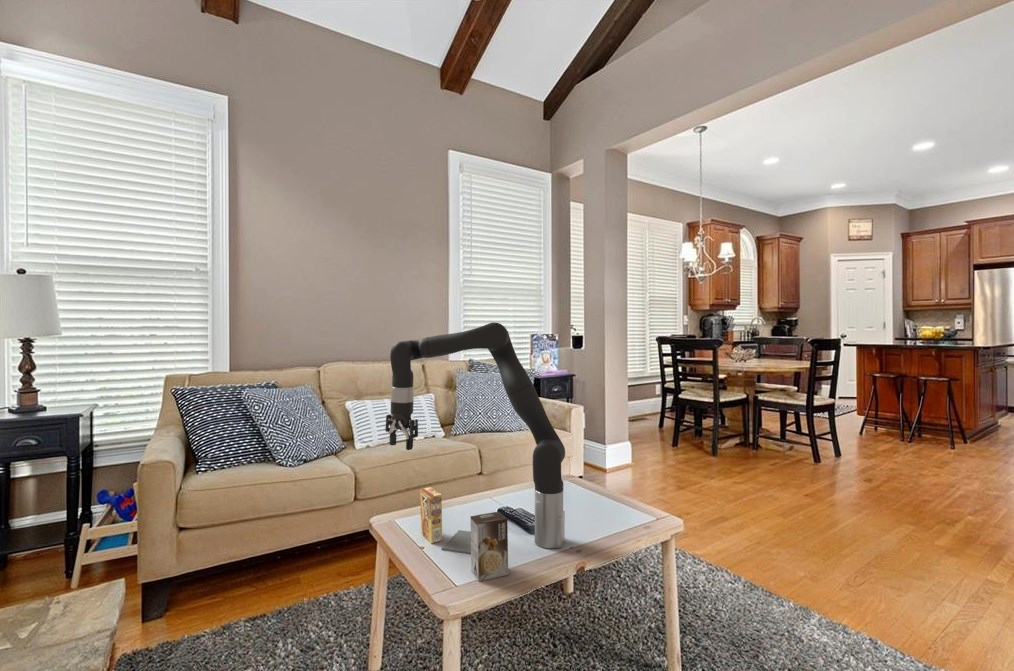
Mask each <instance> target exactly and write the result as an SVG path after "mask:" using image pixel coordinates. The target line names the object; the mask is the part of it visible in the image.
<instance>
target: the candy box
mask: <svg viewBox="0 0 1014 671" xmlns="http://www.w3.org/2000/svg"><path fill="white" fill-rule="evenodd" d="M442 496H443V495H442V494H441V493H440V492H439V491H438V490H436V489H434V488H433V487H431V486H430V487H424V488H421V489H420V496H419V498H420V534H421V535H422V537H424V538H425V539H426V540H427V541H428V542H429V543H430V544H434V542H435V543H438V542H441V541H443V512H442V510H443V502H442V500H443V498H442Z"/></svg>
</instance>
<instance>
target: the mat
mask: <svg viewBox="0 0 1014 671" xmlns="http://www.w3.org/2000/svg"><path fill="white" fill-rule="evenodd" d="M440 550H441V551H446V552H452V553H453V552H454V553H461V554H467V555H471V530H470V531H469V530H462V529H459V530H457V532H455V533H454V535H453V536H451V538H449V540H448V541H447V542H446V543H445V544H444V545H443V546H442V547H441V549H440Z"/></svg>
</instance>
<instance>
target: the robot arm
mask: <svg viewBox="0 0 1014 671" xmlns="http://www.w3.org/2000/svg"><path fill="white" fill-rule="evenodd" d="M476 349H478V350H480V349H481V350H482V349H483V350H488V352H489V353H490V354H491V357H492V358H493V360H494V362H495V364H496V365H497V368H498V372H499V374H500V378H501V382H502V384H503V387H504V391H505V393H506V396H507V398H508V400H509V402H510V404H511V406H512V408H513V410H514V411H515V413H516V414H517V415H518V416H519V417H520V419H521V420H522V421H523V423H525V424H526V426H527V427H528V429H529V430H530V433H531V434H532V436H533V439H534V441H535V444H536V445H535V447H534V450H533V452H532V479H533V480H532V481H533V483H534V543H535V545H537V546H538V547H540V548H543V549H557V548H558V549H562V547H563V544H564V542H565V540H566V539H565V538H566V537H565V532H566V531H565V529H566V528H565V523H566V522H565V521H566V520H565V519H566V516H565V511H564V481H563V480H562V462H563V461H564V460H565V456H566V448H565V445H564V443H563V442H562V440H561V439H560V436H559V435H558V433H557V432H556V430H555V429H554V427H553V425H552V424H551V421H550V420H549V417H548V415H547V412H546V410H545V408H544V406H543V404H542V401H541V400H540V397H539V394H538V392H537V390H536V388H535V386H534V384H533V382H532V380H531V378H530V377H529V374H528V373H527V371H526V369H525V368H524V366H523V365H522V363H521V361H520V360H519V358H518V355H517V353H516V352H515V351H516V350H515V349H514V345H513V343H512V341H511V336H510V333H509V331H508V329H507V328H506V327H505V326H504V325H503V324H501V323H499V322H490V323H487V324H484V325H481V326H479V327H476V328H472V329H468V330H464V331H460V332H454V333H453V332H452V333H447V334H439V335H433V336H427V337H424V338H420V339H411V340H403V341H397V342H395V343H394V344H393V345H392V347H391V349H390V354H389V358H390V360H389V361H390V366H391V371H392V376H391V377H392V378H391V379H392V380H391V392H390V414H386V417H385V427H384V429H385V430H384V431H385V432H386V433H388V434H389V446H391V447H392V446H396V445H397V432H398V431H401V432H402V434H404V436H405V437H406V439H405V450H406V451H411V450H413V447H414V439H415V438H418V437H419V421H418V419H413V418H412V415H413V414H414V396H415V395H414V394H415V393H414V392H415V391H414V372H413V370H412V369H411V368H412V366H411V365H412V364H411V363H412V361H415V360H420V359H424V358H425V359H430V358H436V357H437V358H438V357H444V356H447V355H452V354H455V353H459V352H462V351H463V352H464V351H467V350H476Z"/></svg>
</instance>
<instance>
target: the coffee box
mask: <svg viewBox="0 0 1014 671" xmlns="http://www.w3.org/2000/svg"><path fill="white" fill-rule="evenodd" d="M470 532H471V554H470V572H471V573H472V575H473V576H474V577H475V579H476V580H477V581H478V582H483V581H486V580H487V579H488V580H491V579H495V578H500V577H504V576H508V575H509V550H508V549H509V539H508V535H509V534H508V518H507V517H506V516H505V515H504V514H503V513H501V512H500V511H493V512H488V513H482V514H477V515H471V516H470ZM482 580H483V581H482Z"/></svg>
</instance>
